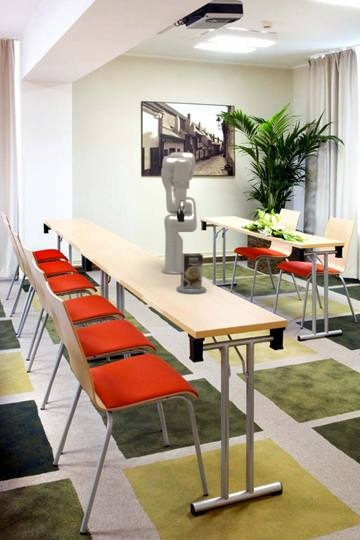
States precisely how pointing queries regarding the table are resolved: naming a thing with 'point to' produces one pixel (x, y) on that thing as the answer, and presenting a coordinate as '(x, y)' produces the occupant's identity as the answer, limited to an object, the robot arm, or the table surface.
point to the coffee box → (191, 270)
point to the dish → (191, 290)
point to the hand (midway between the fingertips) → (180, 220)
